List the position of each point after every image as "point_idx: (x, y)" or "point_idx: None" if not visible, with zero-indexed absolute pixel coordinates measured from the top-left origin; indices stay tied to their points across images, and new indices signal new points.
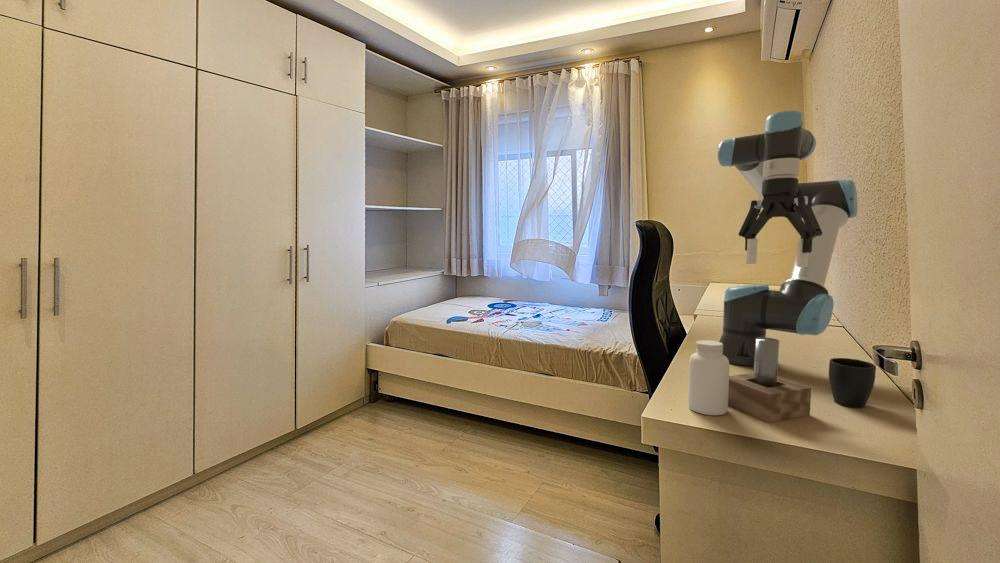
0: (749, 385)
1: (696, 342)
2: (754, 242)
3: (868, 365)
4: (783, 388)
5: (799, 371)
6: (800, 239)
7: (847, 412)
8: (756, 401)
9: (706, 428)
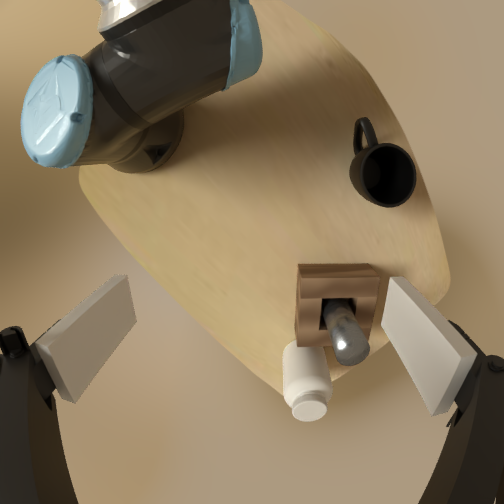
0: None
1: (295, 417)
2: (71, 356)
3: (397, 150)
4: (364, 313)
5: (228, 89)
6: (443, 410)
7: (382, 210)
8: None
9: (335, 379)
